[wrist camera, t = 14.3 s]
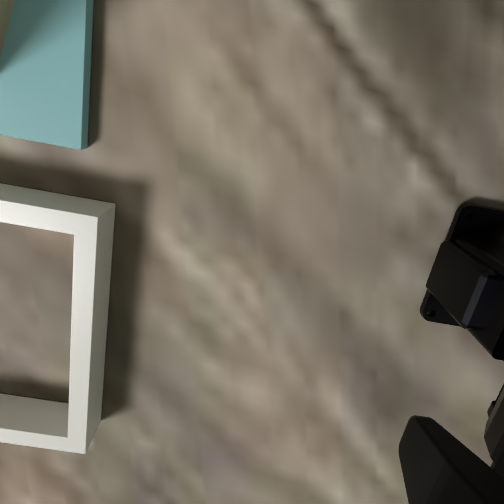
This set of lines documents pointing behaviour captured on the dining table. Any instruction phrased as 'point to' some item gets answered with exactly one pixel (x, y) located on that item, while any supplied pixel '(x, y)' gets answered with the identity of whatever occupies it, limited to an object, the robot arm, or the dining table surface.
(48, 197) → the tray
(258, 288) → the dining table surface
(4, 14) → the birch block
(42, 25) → the teal board
